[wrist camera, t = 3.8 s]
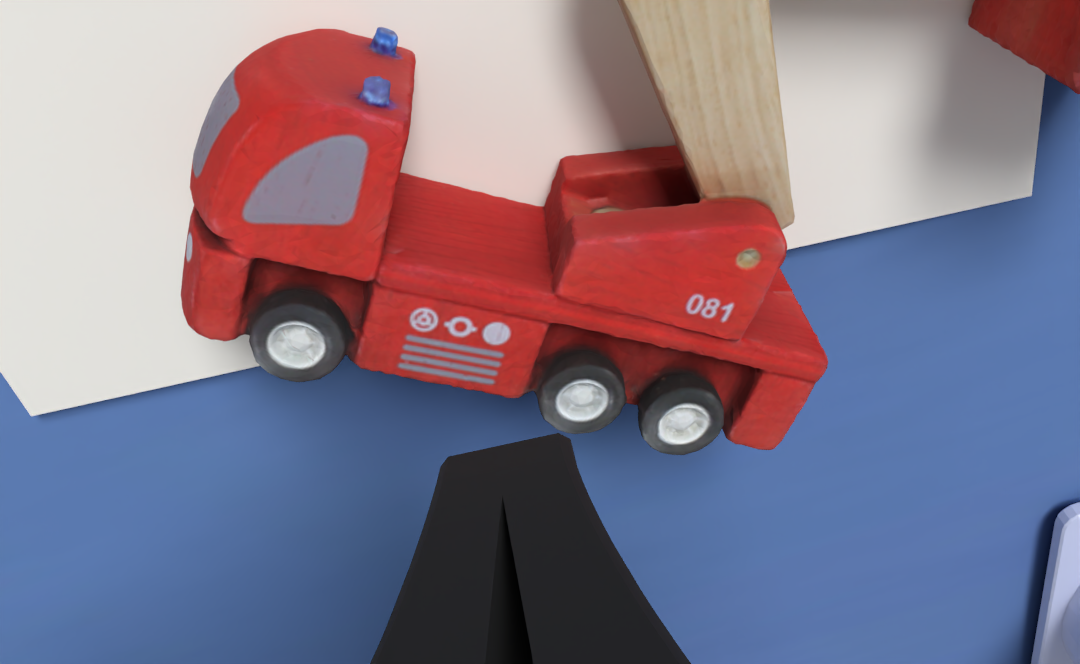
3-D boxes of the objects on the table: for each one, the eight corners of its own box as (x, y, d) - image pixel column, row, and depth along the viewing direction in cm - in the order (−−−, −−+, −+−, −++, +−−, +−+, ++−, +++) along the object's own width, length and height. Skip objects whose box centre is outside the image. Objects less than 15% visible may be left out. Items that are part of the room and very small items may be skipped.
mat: (1107, -597, 11) (1122, -603, 11) (1023, 188, 17) (1031, 195, 17) (-385, -215, 12) (-401, -213, 12) (36, 406, 18) (31, 416, 18)
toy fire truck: (199, 243, 16) (296, -444, 11) (886, 400, 19) (1199, -81, 14) (148, 356, 14) (247, -485, 9) (957, 517, 17) (1375, -27, 12)
